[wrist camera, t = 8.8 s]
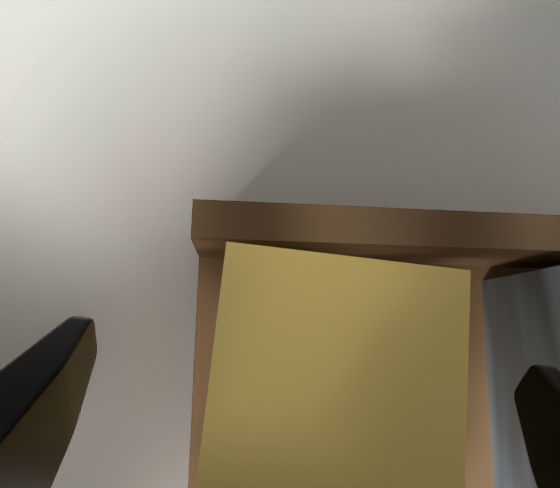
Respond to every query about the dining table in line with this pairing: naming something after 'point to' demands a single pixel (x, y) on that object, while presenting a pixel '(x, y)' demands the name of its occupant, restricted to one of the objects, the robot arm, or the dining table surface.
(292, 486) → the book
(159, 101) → the dining table surface
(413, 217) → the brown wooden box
